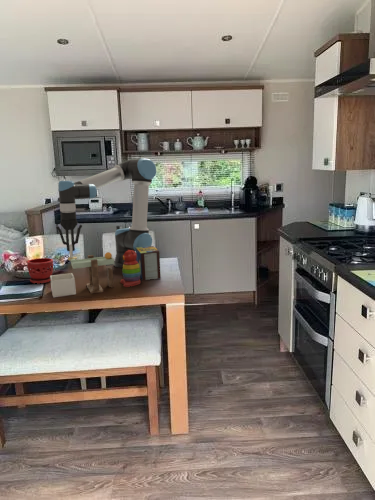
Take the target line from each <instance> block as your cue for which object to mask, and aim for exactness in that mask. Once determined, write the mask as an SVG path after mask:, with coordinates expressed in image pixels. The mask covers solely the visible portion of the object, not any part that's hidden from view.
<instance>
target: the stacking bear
mask: <svg viewBox="0 0 375 500" xmlns="http://www.w3.org/2000/svg"><path fill="white" fill-rule="evenodd" d="M122 258H123V260H124V261H125V262H124V264H123V268H122V270H121V271H122V276H123V278H122V279H120V281H119V282H120V284H123V287H125V288H130V286H131V287H135V286H138V285H140V284H142V283H141V282H142V280H141V278H140V273H141V271H140V266H139V263H138V262H137V261H136V258H137V254H136V251H133V250H128V251H126V252H125V253H124V255H123V257H122Z"/></svg>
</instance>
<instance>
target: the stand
mask: <svg viewBox="0 0 375 500" xmlns="http://www.w3.org/2000/svg"><path fill="white" fill-rule="evenodd" d="M88 258H95V255H94V254H89V255H87V259H88ZM87 268H88V281H89V283H86V284H85V285H86V287H87V289H88V291H89V292H90V294H98V293H103V292H104V289H103V288H102V286H101V285H100V277H99V266H98V263H97V259H95V260H91V267H87ZM106 274H107V275H106V276H107V286H108V287H109V288H110V287H111V288H115V287H114V271H113V268H112V267H111V266H108V267H106Z"/></svg>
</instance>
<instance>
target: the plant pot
mask: <svg viewBox="0 0 375 500" xmlns="http://www.w3.org/2000/svg"><path fill="white" fill-rule="evenodd" d="M26 266H27V271H28V274H29V276H30V278H29V281H30V283H32V284H35V283H37V284H36V285H38V284H39V285H40V283H41V284H45V283H49V282H51V280H50V276H52V275H53V272H54V259H52V258H47V257H40V258H39V257H38V258H33V259H32V258H31V259H29V260H27V262H26Z"/></svg>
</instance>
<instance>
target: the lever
mask: <svg viewBox="0 0 375 500" xmlns="http://www.w3.org/2000/svg"><path fill="white" fill-rule="evenodd" d="M77 258H78V257H77V256H73V258H70V256H68V257H67V261H70V265H71V267H72V269H73V270H75V269H84V268H88V267H91V260H95V259H97V263H98V267H99V266H100V267H101V266H106V267H111V266H114V261H115V258H113V256H112V257H111V258H110V259H106V258H105V256H99V257H94V258H88V257H87V258H82V259H81V258H80V259H77Z"/></svg>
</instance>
